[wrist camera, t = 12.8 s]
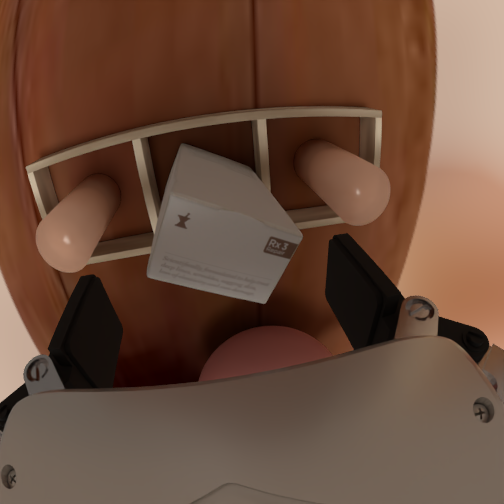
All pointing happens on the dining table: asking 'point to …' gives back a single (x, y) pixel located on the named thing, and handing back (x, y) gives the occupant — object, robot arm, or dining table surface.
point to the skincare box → (220, 229)
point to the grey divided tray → (305, 163)
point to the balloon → (262, 352)
